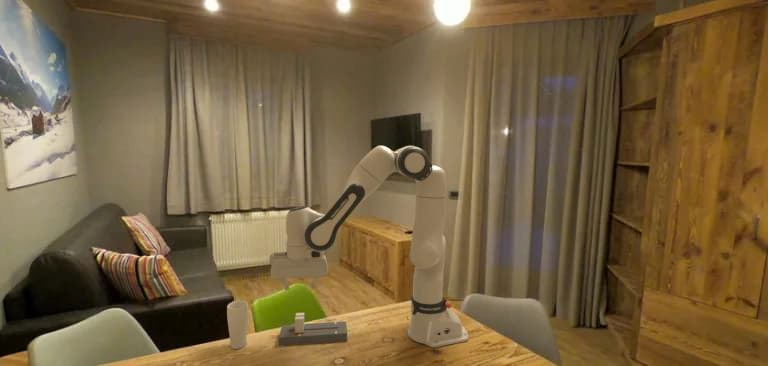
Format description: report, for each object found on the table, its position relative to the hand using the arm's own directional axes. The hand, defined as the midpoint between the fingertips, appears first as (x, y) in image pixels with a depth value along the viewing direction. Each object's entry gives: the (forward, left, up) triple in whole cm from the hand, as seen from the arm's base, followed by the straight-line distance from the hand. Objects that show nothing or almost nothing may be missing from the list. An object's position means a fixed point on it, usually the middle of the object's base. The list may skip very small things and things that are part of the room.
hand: (300, 288), depth 131 cm
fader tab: (0, 0, -15) cm, 15 cm away
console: (-5, 0, -19) cm, 19 cm away
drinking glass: (+21, +2, -19) cm, 29 cm away
